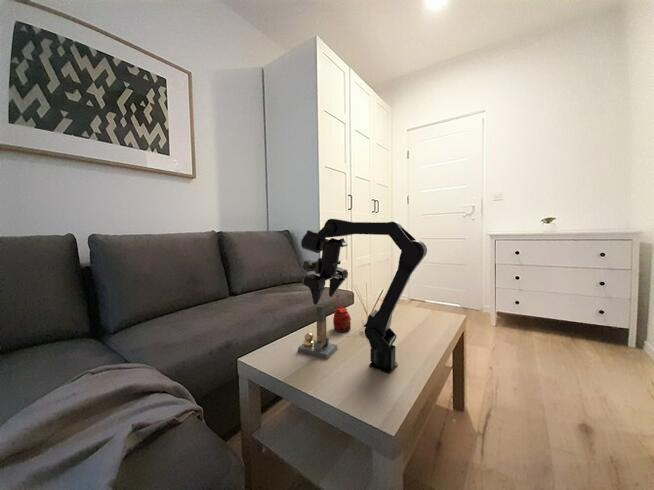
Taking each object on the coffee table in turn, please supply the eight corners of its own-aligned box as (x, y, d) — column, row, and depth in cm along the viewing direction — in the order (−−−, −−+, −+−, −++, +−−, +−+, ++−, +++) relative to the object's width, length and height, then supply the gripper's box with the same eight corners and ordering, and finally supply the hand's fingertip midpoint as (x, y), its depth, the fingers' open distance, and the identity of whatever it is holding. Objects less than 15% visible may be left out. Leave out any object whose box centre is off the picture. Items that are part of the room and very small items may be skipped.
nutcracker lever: (326, 345, 85) (326, 305, 84) (322, 348, 82) (321, 307, 82) (321, 344, 86) (320, 304, 85) (316, 347, 83) (316, 306, 83)
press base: (337, 349, 86) (337, 333, 85) (327, 359, 79) (326, 342, 79) (309, 342, 91) (309, 328, 91) (298, 351, 84) (297, 336, 84)
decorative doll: (341, 334, 98) (340, 296, 97) (329, 329, 103) (329, 293, 103) (354, 329, 103) (354, 293, 102) (342, 324, 108) (342, 290, 108)
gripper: (326, 247, 94) (320, 285, 97) (292, 253, 79) (287, 299, 82) (351, 255, 88) (344, 296, 92) (321, 264, 73) (313, 312, 76)
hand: (323, 300), depth 85 cm, fingers open, 9 cm apart
